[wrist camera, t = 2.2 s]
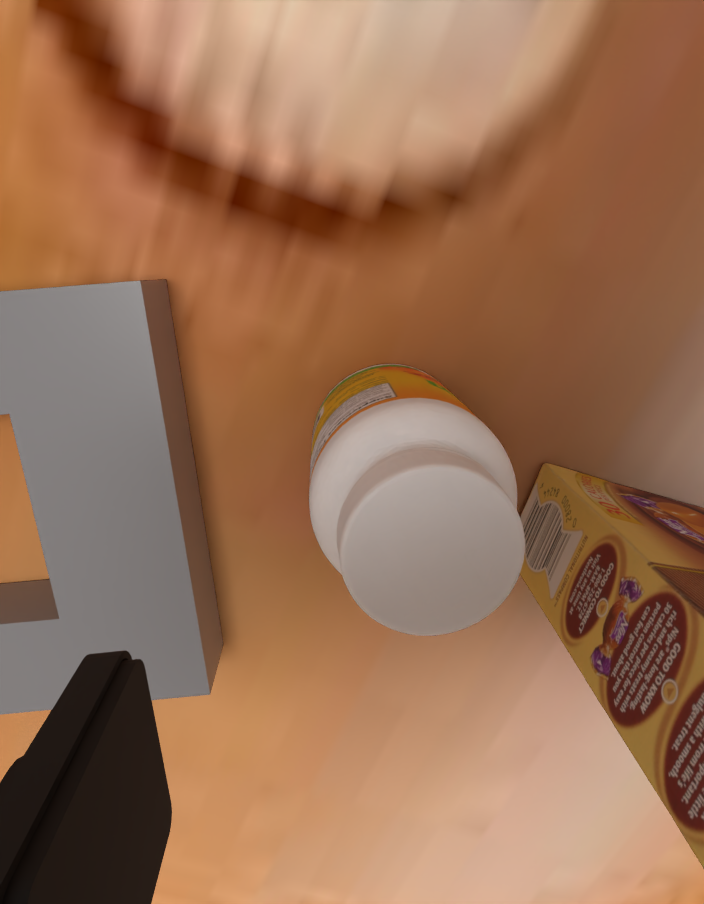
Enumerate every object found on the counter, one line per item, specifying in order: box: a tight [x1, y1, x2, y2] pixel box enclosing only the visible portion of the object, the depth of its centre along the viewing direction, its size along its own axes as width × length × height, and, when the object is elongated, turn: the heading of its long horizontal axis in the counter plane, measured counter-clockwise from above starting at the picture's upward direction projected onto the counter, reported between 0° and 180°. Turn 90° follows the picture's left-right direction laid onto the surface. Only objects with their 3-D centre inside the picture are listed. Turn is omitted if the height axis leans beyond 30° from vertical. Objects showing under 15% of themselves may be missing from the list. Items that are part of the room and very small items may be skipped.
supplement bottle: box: [309, 364, 525, 636], centre depth 17 cm, size 5×5×10 cm
